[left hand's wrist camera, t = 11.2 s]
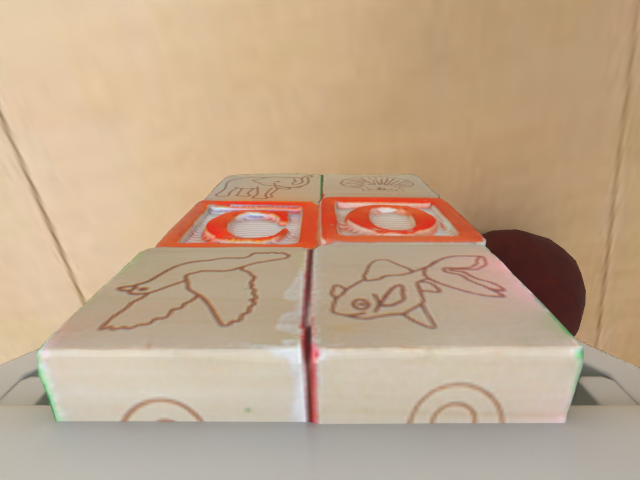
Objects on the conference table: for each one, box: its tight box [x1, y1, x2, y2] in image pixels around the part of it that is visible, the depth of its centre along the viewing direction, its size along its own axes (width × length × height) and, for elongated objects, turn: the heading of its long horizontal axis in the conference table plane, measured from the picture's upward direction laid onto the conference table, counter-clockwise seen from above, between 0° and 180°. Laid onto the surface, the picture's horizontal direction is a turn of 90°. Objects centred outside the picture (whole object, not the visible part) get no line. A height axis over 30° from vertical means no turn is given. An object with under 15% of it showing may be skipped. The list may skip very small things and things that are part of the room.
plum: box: [482, 229, 586, 336], centre depth 24 cm, size 7×8×7 cm
